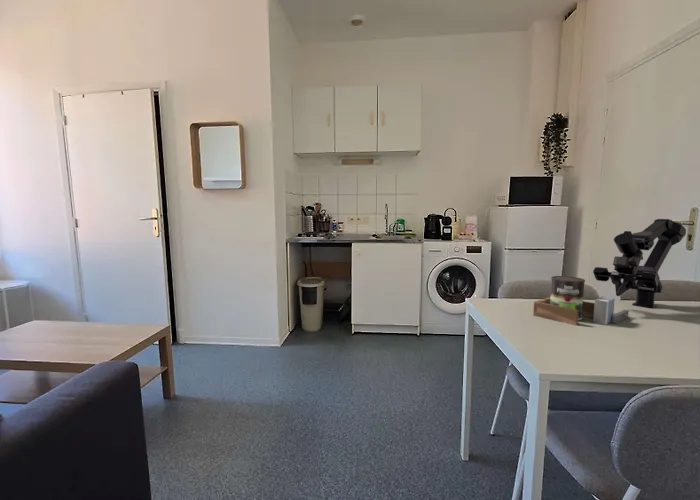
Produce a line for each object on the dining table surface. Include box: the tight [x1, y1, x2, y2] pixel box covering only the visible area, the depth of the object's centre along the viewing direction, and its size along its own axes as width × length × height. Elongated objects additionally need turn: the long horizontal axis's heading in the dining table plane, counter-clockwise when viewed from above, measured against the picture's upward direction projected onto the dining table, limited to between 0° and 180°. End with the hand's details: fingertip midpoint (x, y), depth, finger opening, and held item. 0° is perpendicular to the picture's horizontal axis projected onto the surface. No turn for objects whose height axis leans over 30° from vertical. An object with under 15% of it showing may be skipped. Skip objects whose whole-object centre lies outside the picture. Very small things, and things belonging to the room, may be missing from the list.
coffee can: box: [549, 275, 586, 321], centre depth 128 cm, size 10×10×14 cm
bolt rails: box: [592, 309, 630, 324], centre depth 126 cm, size 12×7×2 cm, turn 126°
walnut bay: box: [532, 296, 595, 326], centre depth 129 cm, size 15×14×5 cm
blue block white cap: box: [592, 296, 615, 326], centre depth 122 cm, size 7×4×8 cm, turn 126°
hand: (617, 295), depth 128 cm, fingers closed
